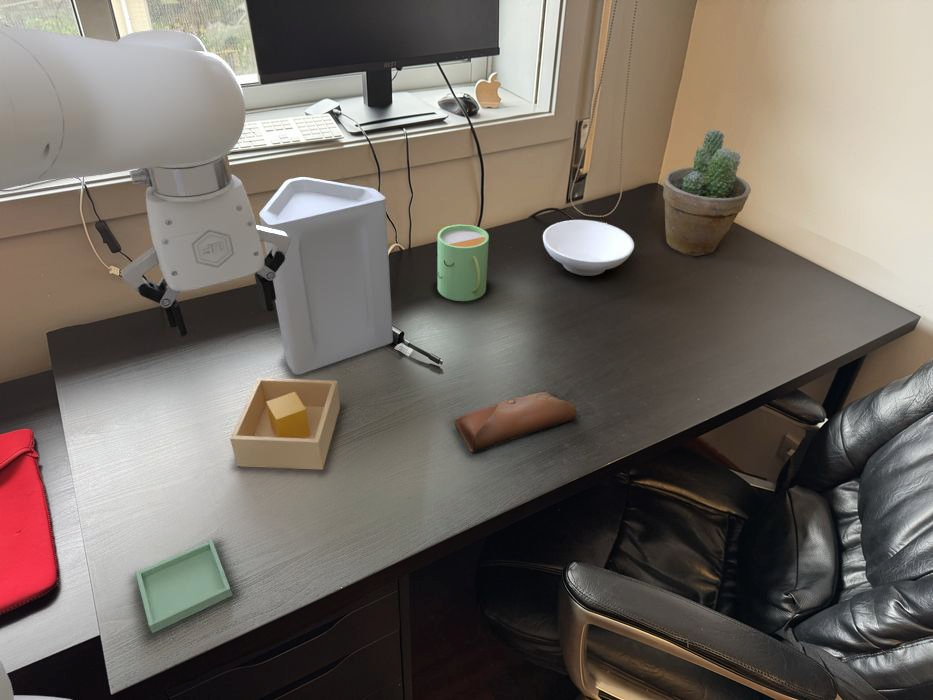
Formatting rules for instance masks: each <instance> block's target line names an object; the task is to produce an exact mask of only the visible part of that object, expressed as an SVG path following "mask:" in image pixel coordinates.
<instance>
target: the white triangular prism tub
mask: <svg viewBox="0 0 933 700" xmlns="http://www.w3.org/2000/svg"><path fill="white" fill-rule="evenodd" d="M386 200H387V199H386V196H385V195H383V194H382V193H381V192H380V191H378V190H377V189H375V188H372V187H366V186H361V185H356V184H355V185H354V184H349V183H342V182H337V181H331V180H326V179H325V180H324V179H318V178H313V177H307V176H300V177H299V176H298V177H294V178H289V179H287V180H285V181H284V182H283V183H282V185H281V186H280V187H279V188H278V189H277V190H276V192H275V193H274V194H273V196H272V197H271V198H270V199H269V201H268V202H266V204H265V205H264V207H263V208H262V209H261V210H260V212H259V214H258V216H259V220H260V226H261V227H266V228H270V229H274V230H278V231H282V232H286V233H287V235H288V236H289V237H290V238H291V242H290V244H289V247H288V250H287V253H286V254H285V261H284V262H283V263H282V265H281V266H280V268H279V269H278V270H277V272H276V277H275V279H273V283H274V289H275V294H276V300H274V302H275V307H276V313H277V319H278V324H279V330H280V336H281V340H282V346H283V351H284V357H285V362H286V365H287V366H288V368H289V369H290V371H291V372H292V374H293V375H297V376H299V375H302V374H305V373H308V372H311V371H313V370H318V369H320V368H323V367H326V366H329V365H332V364H335V363H337V362H340V361H344V360H346V359H349V358H352V357H355V356H358V355H360V354H363V353H366V352H369V351H372V350H376V349H377V348H381V347H384V346H387V345H390V344H392V343H393V342H394V335H393V334H394V333H393V313H392V298H391V295H392V294H391V278H390V258H389V239H388V222H387V221H388V219H387V203H386ZM263 242H264V247H265V253H266V256H267V255H268V254H269V252H270V251H271V250H272V249H273V245H274V243H269V242H265V241H263Z"/></svg>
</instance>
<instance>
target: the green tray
mask: <svg viewBox="0 0 933 700" xmlns="http://www.w3.org/2000/svg"><path fill="white" fill-rule="evenodd" d="M135 576H136V580H137V584H138V588H139V593H140V596H141V600H142V605H143V608H144V613H145V616H146V620H147V624H148V628H149V629H150V631H151V633H152V634H155V633H156V632H158V631H160V630H163V629H165V628H167V627H169V626H171V625H173V624H175V623H179V621H182V620H184V619H187V618H188V617H190V616H193V615H195V614H196V613H198V612H201V611H203V610H205V609H208V608H210V607H211V606H213V605H216V604H218V603H221V602H222V601H224V600H227V599H228V598H231V597H233V592H232V590H231V587H230V584H229V581H228V578H227V575H226V573H225V571H224V567H223V566H222V563H221V560H220V557H219V554H218V552H217V549H216V546H215V544H214V541H213V540H212V539H211V540H209V541H206V542H204V543H201V544H199V545H196V546H194V547H192V548H189V549H187V550H185V551H182V552H180V553H178V554H175V555H173V556H171V557H168V558H166V559H164V560H161V561H159V562H156V563H154V564H152V565H150V566H147V567H145V568H143V569H140V570H137V571H136V572H135Z"/></svg>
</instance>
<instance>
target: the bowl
mask: <svg viewBox="0 0 933 700" xmlns="http://www.w3.org/2000/svg"><path fill="white" fill-rule="evenodd" d="M542 241H543V246H544V248H545V250H546V251H547V253H548V254H549V256H550V257H551V258H552V259H553V260H555V261H556V262H558V263H560V264H562V266H563V268H564V269H566V271H568V272H570V273H572V274H576V275H579V276H588V277H589V276H597V275H601V274H603V273H604V272H605V271H606V270H611V269H614V268H616V267H618V266H620V265H622V264H623V263H624V262H626V260H628V259H629V257H630V256H631V255H632V253H633V251H634V249H635V242H634V240H633V238H632V237H631V235H630V234H628V233H627V232H626V231H625V230H623V229H621V228H619V227H617V226H614V225H612V224H609V223H606V222H601V221H596V220H590V219H570V220H564V221H560V222H559V221H558V222H556V223H554V224H551V225H550V226H548V227H547V228H546V229H545V230H544V231H543V234H542Z"/></svg>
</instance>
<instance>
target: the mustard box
mask: <svg viewBox="0 0 933 700" xmlns="http://www.w3.org/2000/svg"><path fill="white" fill-rule="evenodd" d="M266 404H267V409H268V414H269V418H270V423H271V427H272V430H273V432H274V434H275V435H276V437H279V438H306V437H308V436H310V430H309V424H308V418H307V412H306V408H305V407H304V405H303V404H302V402H301V400H300V399H299V397H298V396H297V394H296V392H293V393H290V394H287V395H284V396H281V397H279V398H276V399H273V400H270V401H267V402H266Z"/></svg>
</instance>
